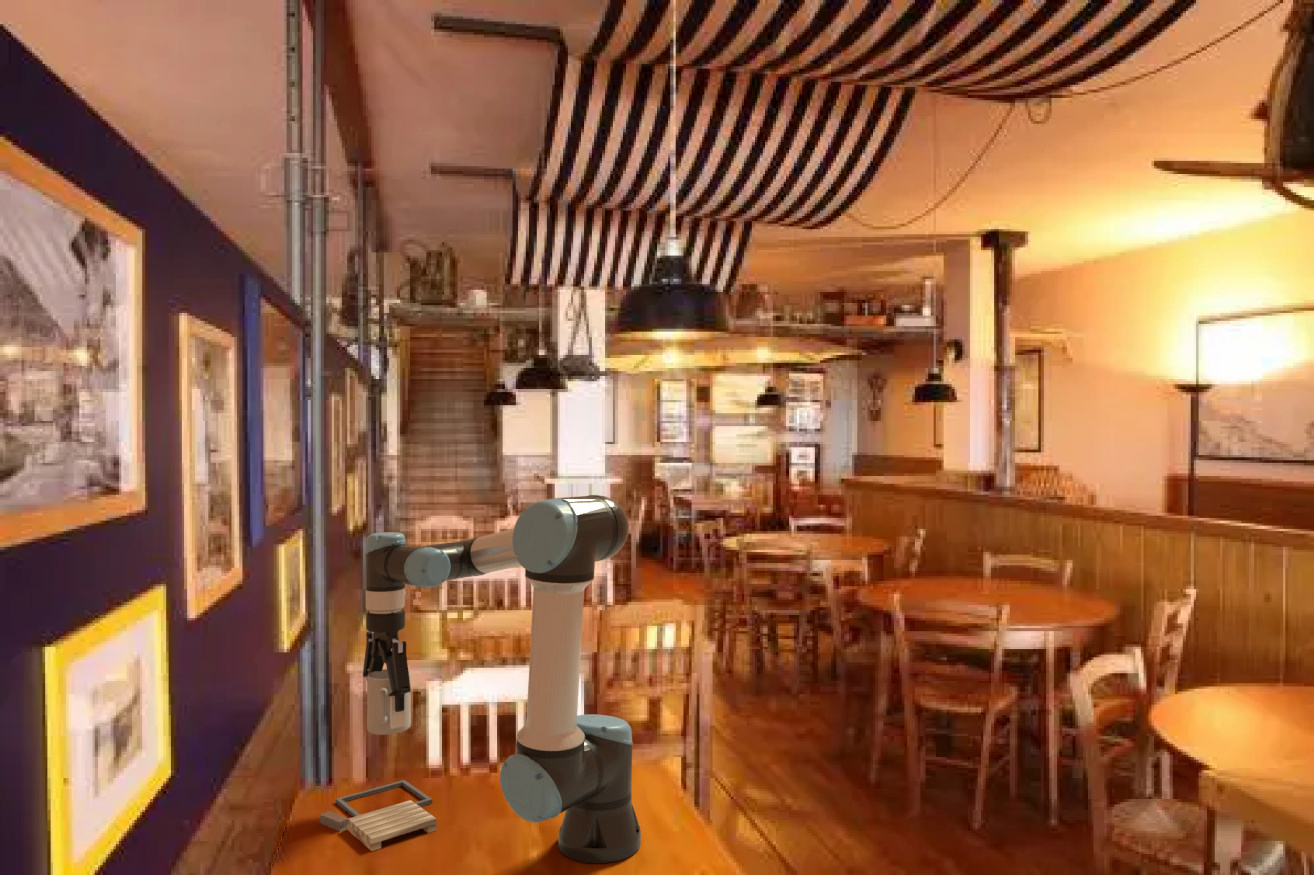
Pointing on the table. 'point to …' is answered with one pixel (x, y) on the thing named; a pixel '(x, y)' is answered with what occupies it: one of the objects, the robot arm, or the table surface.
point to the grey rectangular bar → (334, 821)
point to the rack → (390, 823)
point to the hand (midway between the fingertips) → (386, 720)
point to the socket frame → (352, 812)
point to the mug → (383, 704)
